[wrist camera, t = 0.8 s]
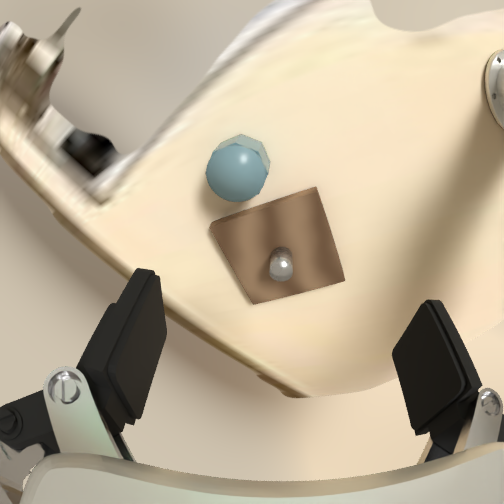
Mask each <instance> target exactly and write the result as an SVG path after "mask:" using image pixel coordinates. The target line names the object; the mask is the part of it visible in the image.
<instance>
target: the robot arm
mask: <svg viewBox="0 0 504 504" xmlns="http://www.w3.org/2000/svg"><path fill="white" fill-rule="evenodd" d="M485 89H486V95H487V100H488V103H489V106H490V109H491V111H492V114H493V116H494V117H495V119H496V121H497V122H498V124H499V125H500V126H501V127H502V128H503V129H504V50H499V51H497V52H495V53H494V54H493V55H492V56H491V58H490V59H489V61H488V64H487V68H486V72H485ZM166 335H167V328H166V321H165V314H164V307H163V299H162V291H161V283H160V277H159V276H158V275H155V272H154V271H153V270H147V269H141V268H137V269H136V270H135V272H134V273H133V275H132V277H131V278H130V280H129V282H128V283H127V285H126V287H125V289H124V290H123V292H122V294H121V296H120V298H119V299H118V301H117V303H112V304H110V305H109V307H108V308H107V310H106V311H105V313H104V315H103V317H102V319H101V320H100V322H99V324H98V326H97V328H96V330H95V332H94V334H93V335H92V337H91V339H90V341H89V343H88V345H87V347H86V349H85V351H84V353H83V355H82V357H81V359H80V361H79V363H78V365H77V367H76V369H75V368H73V367H67V366H65V367H60V368H57V369H55V370H53V371H52V372H51V373H50V374H49V375H48V376H47V378H46V380H45V382H44V386H43V390H41V391H38V392H36V393H33V394H31V395H28V396H26V397H23V398H21V399H18V400H16V401H13V402H10V403H8V404H5V405H3V406H2V407H0V504H504V414H502V413H503V404H502V400H501V398H500V396H499V395H498V394H497V392H495V391H494V390H493V389H490V388H485V389H482V390H481V391H480V392H478V389H479V388H480V387H481V386H482V383H481V381H480V378H479V376H478V373H477V371H476V369H475V367H474V364H473V362H472V360H471V358H470V356H469V353H468V351H467V349H466V347H465V345H464V343H463V341H462V339H461V337H460V335H459V333H458V331H457V329H456V327H455V325H454V323H453V321H452V320H451V318H450V316H449V314H448V312H447V310H446V309H445V307H444V305H443V303H442V302H441V301H440V300H426V301H425V302H424V303H423V304H421V306H420V307H419V309H418V311H417V312H416V314H415V316H414V317H413V319H412V321H411V322H410V324H409V326H408V327H407V329H406V330H405V332H404V333H403V335H402V337H401V338H400V340H399V341H398V343H397V344H396V346H395V347H394V349H393V352H392V357H393V361H394V364H395V367H396V371H397V374H398V378H399V381H400V385H401V388H402V391H403V395H404V399H405V403H406V407H407V411H408V415H409V419H410V423H411V427H412V428H413V429H414V430H415V435H416V436H417V435H422V434H426V433H428V432H430V437H429V440H428V442H427V444H426V446H425V449H424V451H423V453H422V455H421V457H420V459H419V461H418V463H417V465H414V466H410V467H406V468H402V469H397V470H393V471H387V472H382V473H377V474H371V475H365V476H357V477H350V478H341V479H330V480H317V481H251V480H238V479H227V478H218V477H211V476H203V475H197V474H190V473H184V472H178V471H173V470H168V469H163V468H159V467H154V466H150V465H145V464H141V463H137V462H136V460H135V459H134V457H133V455H132V453H131V451H130V449H129V447H128V446H127V444H126V442H125V440H124V438H123V436H122V434H121V432H122V431H123V429H124V426H125V423H127V424H131V425H134V423H135V420H136V419H140V418H141V416H142V414H143V410H144V407H145V403H146V400H147V397H148V393H149V390H150V386H151V383H152V380H153V377H154V374H155V371H156V367H157V364H158V361H159V358H160V355H161V352H162V348H163V345H164V342H165V340H166ZM35 465H36V466H35ZM34 466H35V467H34ZM33 467H34V469H33V470H32V472H30V469H31V468H33ZM30 473H31V474H30ZM28 474H30V476H29V478H28V480H27V483H26V485H25V488H24V491H23V488H22V485H23V480H24V479H25V477H26V476H27V475H28Z"/></svg>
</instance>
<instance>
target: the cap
mask: <svg viewBox="0 0 504 504" xmlns="http://www.w3.org/2000/svg"><path fill="white" fill-rule="evenodd" d="M269 166H270V160H269V158H268V156H267V153H266V151H265V149H264V146H263V144H262V142H260V141H257V140H255V139H252V138H249V137H247V136H244V135H242V134H241V135H238V136H236V137H233V138H231V139H229V140H226V141H224V142H222V143H221V144H220V145H219V146H218V147H217V148H216V149H215V150H214V151H213V153H212V156H211V159H210V160H209V162H208V165H207V169H206V176H207V181H208V184H209V186H210V187H211V189H212V190H213V191H214V192H215V193H216V194H217V195H218V196H219V197H221V198H223V199H225V200H228V201H232V202H242V201H246V200H249V199H251V198H253V197H254V196H256V195H257V194H259V193H260V190H261V189H262V187H263V185H264V182H265V179H266V177H267V175H268V172H269Z"/></svg>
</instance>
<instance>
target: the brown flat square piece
mask: <svg viewBox="0 0 504 504" xmlns="http://www.w3.org/2000/svg"><path fill="white" fill-rule="evenodd" d="M210 229H211V231H212V233H213V235H214V237H215V238H216V240H217V242H218V244H219V245H220V247H221V249H222V251H223V253H224V254H225V256H226V258H227V260H228V261H229V263H230V265H231V267H232V268H233V270H234V272H235V274H236V275H237V277H238V279H239V281H240V282H241V284H242V286H243V288H244V289H245V291H246V293H247V295H248V296H249V298H250V300H251V301H252V303H253V305H254V304H258V303H262V302H267V301H271V300H275V299H279V298H283V297H287V296H291V295H295V294H299V293H302V292H306V291H310V290H314V289H318V288H321V287H325V286H329V285H332V284H336V283H340V282H343V281H345V278H344V273H343V270H342V266H341V263H340V259H339V256H338V253H337V249H336V246H335V243H334V239H333V236H332V233H331V230H330V226H329V223H328V220H327V217H326V214H325V211H324V208H323V205H322V202H321V199H320V196H319V193H318V190H317V188H316V187H313V188H310V189H307V190H304V191H301V192H298V193H295V194H292V195H289V196H286V197H283V198H280V199H277V200H274V201H271V202H268V203H265V204H262V205H259V206H256V207H253V208H250V209H247V210H245V211H242V212H239V213H236V214H233V215H230V216H228V217H225V218H222V219H219V220H217V221H214V222H212V224H211V226H210ZM277 247H286V248H288V249H289V250H290V251H291V252H292V260H293V274H292V277H291V278H290V279H288V280H286V281H276V280H274V279H273V278H272V277H271V276H270V273H269V271H270V259H271V252H272V251H273V250H274V249H275V248H277Z"/></svg>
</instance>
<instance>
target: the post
mask: <svg viewBox="0 0 504 504" xmlns="http://www.w3.org/2000/svg"><path fill="white" fill-rule="evenodd" d="M269 273H270V276H271V277H272V278H273V279H274V280H276V281H286V280H288V279H290V278H291V277H292V274H293V260H292V252H291V251H290V250H289V249H288V248H286V247H277V248H275V249H274V250H273V251H272V252H271V259H270V271H269Z"/></svg>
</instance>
